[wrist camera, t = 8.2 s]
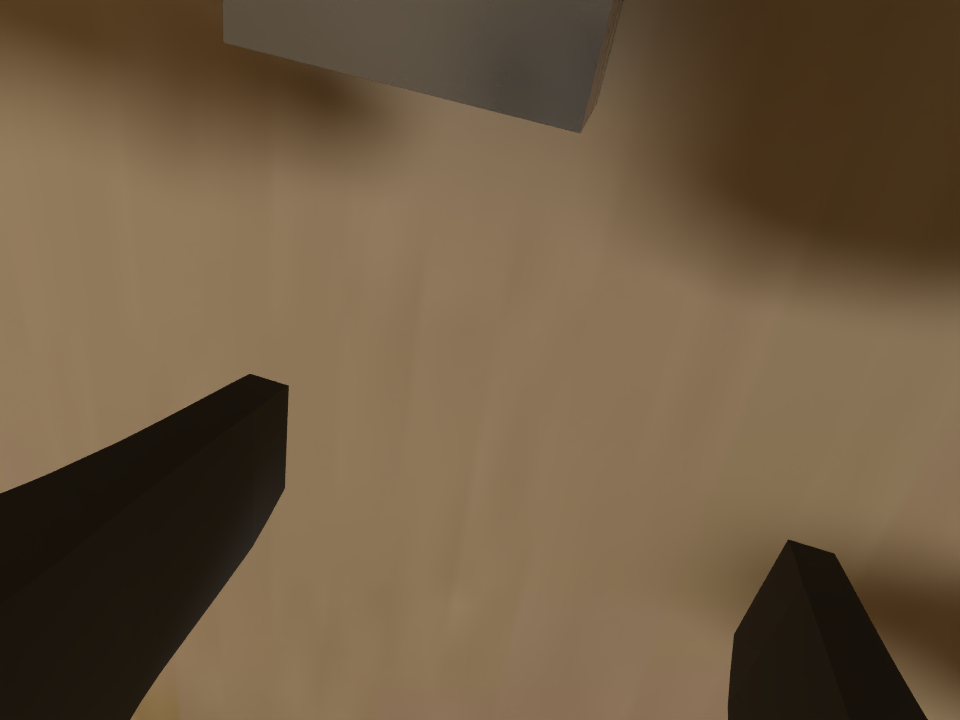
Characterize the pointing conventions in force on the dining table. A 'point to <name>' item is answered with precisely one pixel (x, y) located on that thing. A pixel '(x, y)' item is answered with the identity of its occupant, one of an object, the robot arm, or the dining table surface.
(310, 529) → the dining table surface
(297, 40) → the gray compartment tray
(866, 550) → the dining table surface
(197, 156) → the dining table surface
